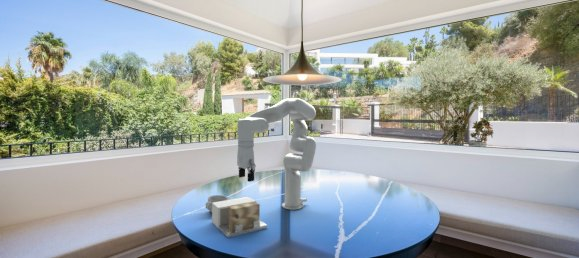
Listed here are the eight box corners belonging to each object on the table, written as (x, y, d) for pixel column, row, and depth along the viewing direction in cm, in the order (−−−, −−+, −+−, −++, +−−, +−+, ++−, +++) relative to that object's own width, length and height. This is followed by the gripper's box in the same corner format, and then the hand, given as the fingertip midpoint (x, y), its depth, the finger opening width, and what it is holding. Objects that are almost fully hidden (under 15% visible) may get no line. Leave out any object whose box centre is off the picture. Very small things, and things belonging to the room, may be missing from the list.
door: (255, 221, 141) (255, 201, 140) (260, 225, 136) (260, 204, 136) (228, 227, 133) (228, 206, 132) (233, 231, 128) (233, 210, 128)
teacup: (219, 207, 166) (219, 193, 165) (231, 211, 159) (231, 197, 158) (198, 213, 155) (198, 199, 154) (210, 218, 148) (210, 203, 148)
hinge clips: (255, 220, 147) (255, 211, 146) (267, 228, 137) (267, 218, 136) (218, 228, 136) (218, 219, 135) (227, 237, 126) (227, 227, 125)
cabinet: (248, 214, 154) (248, 196, 154) (255, 220, 147) (256, 201, 146) (212, 222, 143) (212, 202, 142) (218, 228, 136) (218, 207, 135)
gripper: (231, 142, 142) (232, 176, 144) (246, 146, 128) (247, 184, 129) (245, 141, 146) (245, 174, 148) (261, 145, 132) (261, 181, 134)
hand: (246, 178), depth 139 cm, fingers open, 9 cm apart
